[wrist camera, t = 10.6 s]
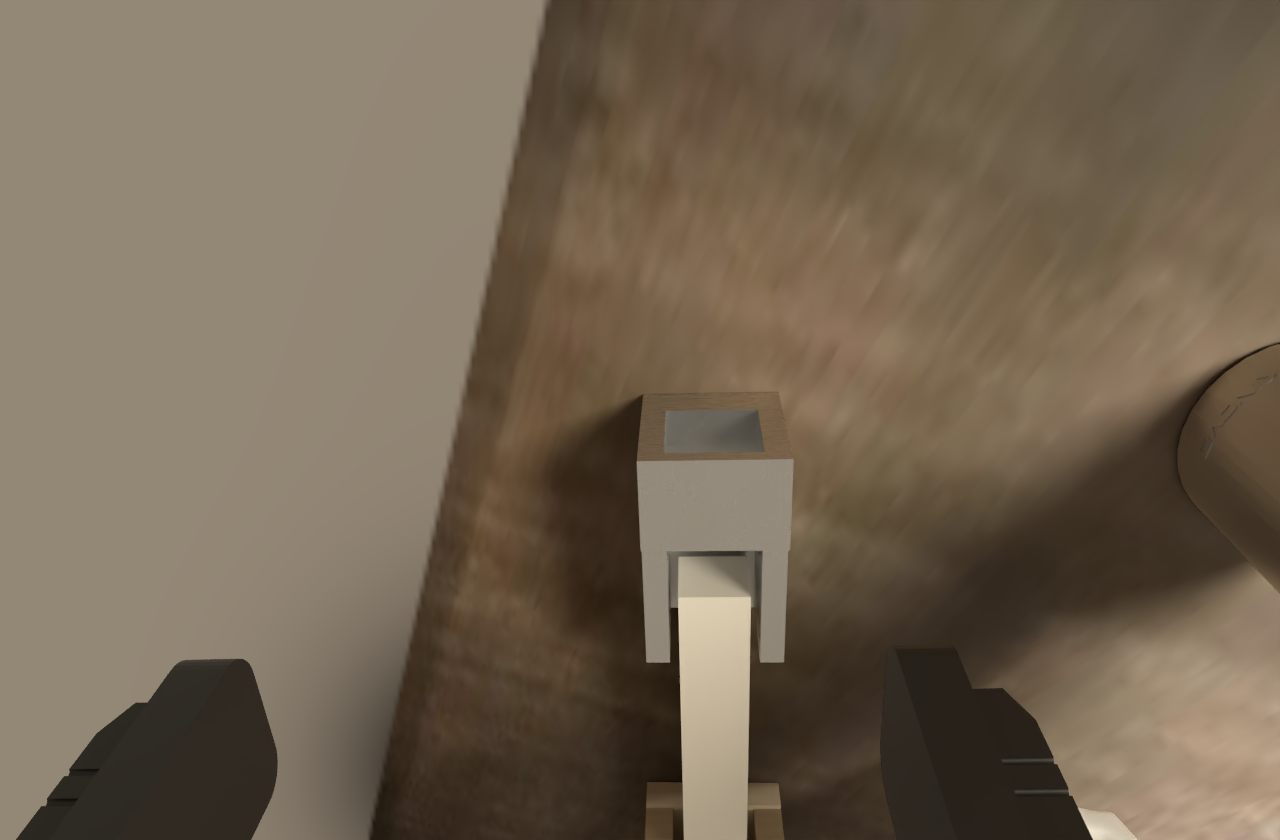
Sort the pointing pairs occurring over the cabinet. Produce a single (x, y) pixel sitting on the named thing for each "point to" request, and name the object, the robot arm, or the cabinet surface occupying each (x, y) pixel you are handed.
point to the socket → (668, 811)
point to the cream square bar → (714, 694)
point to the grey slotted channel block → (714, 503)
